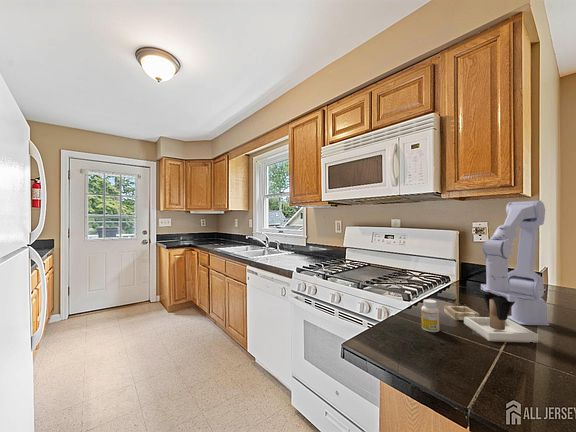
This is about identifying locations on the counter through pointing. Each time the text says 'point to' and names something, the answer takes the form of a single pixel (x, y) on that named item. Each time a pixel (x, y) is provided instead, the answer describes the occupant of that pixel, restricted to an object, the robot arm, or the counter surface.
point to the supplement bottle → (430, 316)
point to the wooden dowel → (495, 317)
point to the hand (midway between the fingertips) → (497, 317)
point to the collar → (460, 312)
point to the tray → (510, 333)
